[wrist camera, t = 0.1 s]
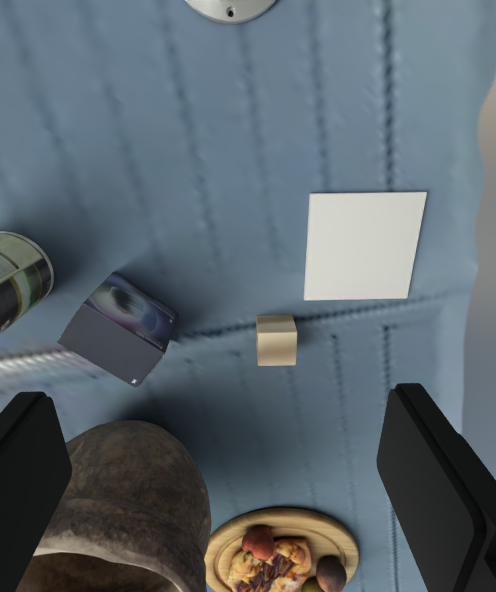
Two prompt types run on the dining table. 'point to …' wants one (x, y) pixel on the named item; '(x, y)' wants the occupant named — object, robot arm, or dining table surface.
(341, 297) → the off-white board
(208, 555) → the wooden plate with food
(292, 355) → the maple cube
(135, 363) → the small box
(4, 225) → the dining table surface
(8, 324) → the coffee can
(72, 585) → the clay pot
